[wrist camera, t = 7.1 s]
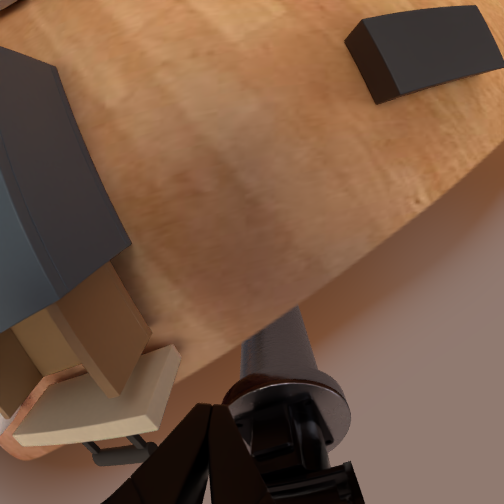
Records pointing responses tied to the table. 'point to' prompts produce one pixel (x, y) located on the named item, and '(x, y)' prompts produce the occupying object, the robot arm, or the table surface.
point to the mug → (6, 3)
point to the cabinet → (46, 194)
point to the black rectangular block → (422, 49)
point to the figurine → (6, 421)
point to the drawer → (99, 372)
